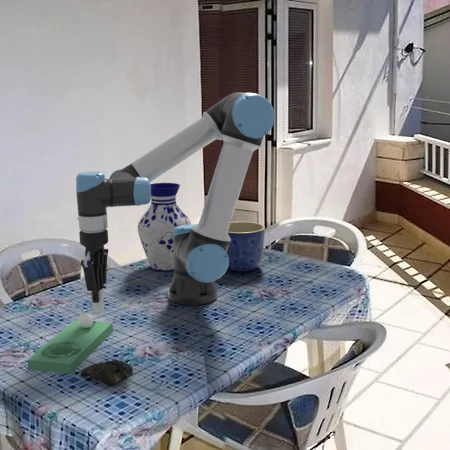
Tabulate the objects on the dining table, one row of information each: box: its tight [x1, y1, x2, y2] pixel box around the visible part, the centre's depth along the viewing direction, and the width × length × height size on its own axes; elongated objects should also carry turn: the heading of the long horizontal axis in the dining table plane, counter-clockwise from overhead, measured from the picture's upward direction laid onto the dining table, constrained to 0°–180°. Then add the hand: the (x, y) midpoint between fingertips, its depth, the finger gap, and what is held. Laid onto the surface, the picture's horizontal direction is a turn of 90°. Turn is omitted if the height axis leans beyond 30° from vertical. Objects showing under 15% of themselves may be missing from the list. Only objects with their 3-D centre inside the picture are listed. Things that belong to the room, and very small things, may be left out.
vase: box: [137, 182, 191, 273], centre depth 219 cm, size 19×19×30 cm
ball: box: [77, 312, 95, 328], centre depth 163 cm, size 4×4×4 cm
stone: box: [79, 359, 134, 387], centre depth 140 cm, size 7×13×5 cm, turn 69°
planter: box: [227, 221, 266, 272], centre depth 219 cm, size 17×17×15 cm
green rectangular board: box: [27, 319, 114, 375], centre depth 156 cm, size 25×11×2 cm, turn 168°
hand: (98, 311), depth 171 cm, fingers closed
